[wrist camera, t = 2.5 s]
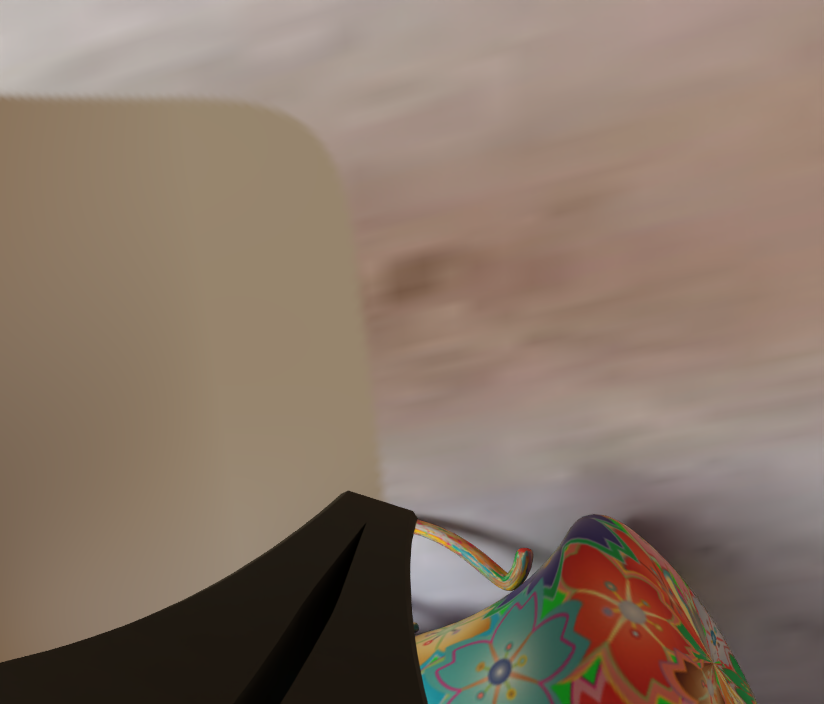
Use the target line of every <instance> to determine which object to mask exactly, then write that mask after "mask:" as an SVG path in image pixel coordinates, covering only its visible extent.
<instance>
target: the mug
mask: <svg viewBox="0 0 824 704" xmlns="http://www.w3.org/2000/svg"><path fill="white" fill-rule="evenodd" d="M414 534H417V535H420V536H423V537H425V538H428V539H430V540H433V541H435V542H437V543H439V544H441V545H443V546H445V547H446V548H448V549H449V550H451V551H453V552H454V553H456V554H457V555H459V556H460V557H461V558H463V559H464V560H465V561H467V562H468V563H469V564H470V565H472V566H473V567H474V568H475V569H476V570H478V571H479V572H480V573H481V574H482V575H484V576H485V577H486V578H487V579H488V580H490V581H491V582H492V583H494V584H495V585H496V586H498V587H499V588H501V589H503V590H507V591H513V590H514V591H513V592H511V593H510V594H508V595H507V596H505V597H504V598H502V599H501V600H499V601H498V602H496V603H494V604H493V605H491V606H489V607H488V608H486V609H484V610H482V611H480V612H478V613H476V614H474V615H472V616H470V617H468V618H466V619H464V620H461V621H459V622H456V623H453V624H451V625H448V626H445V627H442V628H439V629H436V630H432V631H429V632H425V633H421V634H417V635H415V640H416V647H417V653H418V659H419V665H420V670H421V675H422V680H423V684H424V689H425V693H426V697H427V701H428V704H757V702H756V699H755V697H754V695H753V693H752V691H751V689H750V687H749V685H748V683H747V681H746V679H745V676H744V675H743V673H742V671H741V669H740V667H739V665H738V663H737V661H736V659H735V658H734V656H733V654H732V652H731V650H730V649H729V647H728V645H727V643H726V642H725V640H724V638H723V637H722V635H721V633H720V632H719V630H718V628H717V627H716V625H715V624H714V622H713V621H712V619H711V617H710V616H709V614H708V613H707V612H706V610H705V609H704V607H703V606H702V604H701V603H700V601H699V600H698V599H697V597H696V596H695V595H694V593H693V592H692V591H691V589H690V588H689V587H688V586H687V584H686V583H685V582H684V581H683V579H682V578H681V577H680V576H679V574H678V573H677V572H676V571H675V570H674V569H673V567H672V566H671V565H670V564H669V563H668V562H667V561H666V560H665V559H664V558H663V557H662V556H661V555H660V554H659V553H658V552H657V551H656V550H655V549H654V548H653V547H652V546H651V545H650V544H649V543H648V542H646V541H645V540H644V539H643V538H642V537H640V536H639V535H638V534H637V533H635V532H634V531H633V530H632V529H630V528H629V527H628V526H626V525H625V524H623V523H621V522H619V521H617V520H615V519H613V518H611V517H608V516H604V515H596V514H593V515H588V516H584V517H582V518H580V519H578V520H577V521H576V522H575V523H574V524H573V526H572V527H571V528H570V530H569V532H568V533H567V535H566V537H565V538H564V540H563V541H562V543H561V544H560V545H559V547H558V548H557V550H556V551H555V552H554V553H553V554H552V556H551V557H550V558H549V559H548V560H547V561H546V562H545V563H544V564H543V565H542V567H541V568H540V569H538V570H537V571H536V572H535V573H534V574H533V575H532V576H531V577H530V578H529V579H528V580H526V578H527V576H528V574H529V572H530V570H531V567H532V562H533V552H532V550H531V549H528V548H520V549H519V550H518V551H517V552H516V554H515V559H514V562H513V565H512V568H511V570H510V571H509V573H507V572H506V571H504V570H503V569H502V568H501V567H500V566H499V565H497V564H496V563H495V562H494V561H493V560H492V559H490V558H489V557H488V556H487V555H486V554H484V553H483V552H482V551H480V550H479V549H478V548H476V547H475V546H474V545H472V544H471V543H469V542H468V541H466V540H465V539H463V538H461V537H460V536H458V535H456V534H454V533H452V532H450V531H448V530H446V529H444V528H441V527H439V526H436V525H434V524H431V523H427V522H424V521H421V520H417V523H416V527H415V531H414ZM525 580H526V581H525ZM524 581H525V582H524ZM523 582H524V583H523ZM413 624H414V632H417V631H418V630H419V627H418V624H417V623H415V622H414V623H413Z"/></svg>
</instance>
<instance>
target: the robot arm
mask: <svg viewBox="0 0 824 704" xmlns="http://www.w3.org/2000/svg"><path fill="white" fill-rule="evenodd" d="M417 519H418V518H417V517H416V515H415V513H414V512H413V511H411V510H408V509H405V508H401V507H398V506H395V505H392V504H389V503H386V502H383V501H379V500H376V499H373V498H370V497H367V496H364V495H361V494H357V493H354V492H351V491H347V492H345V493H342V494H341V495H340V496H338V497H337V498H336V499H335V500H334V501H333V502H332V503H331V504H329V505H328V506H327V507H326V508H325V509H323V510H322V511H321V512H320V513H319V514H317V515H316V516H315V517H314V518H312V519H311V520H310V521H308V522H307V523H306V524H305V525H303V526H302V527H301V528H299V529H298V530H297V531H295V532H294V533H292V534H291V535H290V536H288V537H287V538H286V539H284V540H283V541H281V542H280V543H279V544H277V545H276V546H274V547H273V548H272V549H270V550H269V551H267V552H266V553H264V554H263V555H261V556H260V557H258V558H256V559H255V560H253V561H251V562H250V563H248V564H247V565H245V566H244V567H242V568H240V569H239V570H237V571H236V572H234V573H233V574H231V575H229V576H227V577H225V578H224V579H222V580H220V581H219V582H217V583H215V584H213V585H211V586H209V587H208V588H206V589H204V590H202V591H200V592H198V593H196V594H194V595H192V596H190V597H188V598H186V599H184V600H182V601H180V602H178V603H176V604H173V605H171V606H169V607H167V608H165V609H162V610H161V611H158V612H156V613H153V614H151V615H149V616H147V617H144V618H142V619H140V620H137V621H135V622H132V623H130V624H127V625H125V626H122V627H119V628H116V629H114V630H111V631H108V632H105V633H102V634H99V635H97V636H94V637H91V638H88V639H85V640H81V641H78V642H75V643H72V644H69V645H66V646H62V647H59V648H55V649H52V650H49V651H45V652H41V653H37V654H33V655H29V656H25V657H21V658H17V659H13V660H9V661H5V662H2V663H0V704H428V701H427V697H426V693H425V689H424V684H423V680H422V675H421V670H420V665H419V659H418V653H417V647H416V640H415V632H414V624H413V615H412V604H411V582H410V559H411V545H412V539H413V535H414V531H415V527H416V523H417Z"/></svg>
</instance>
